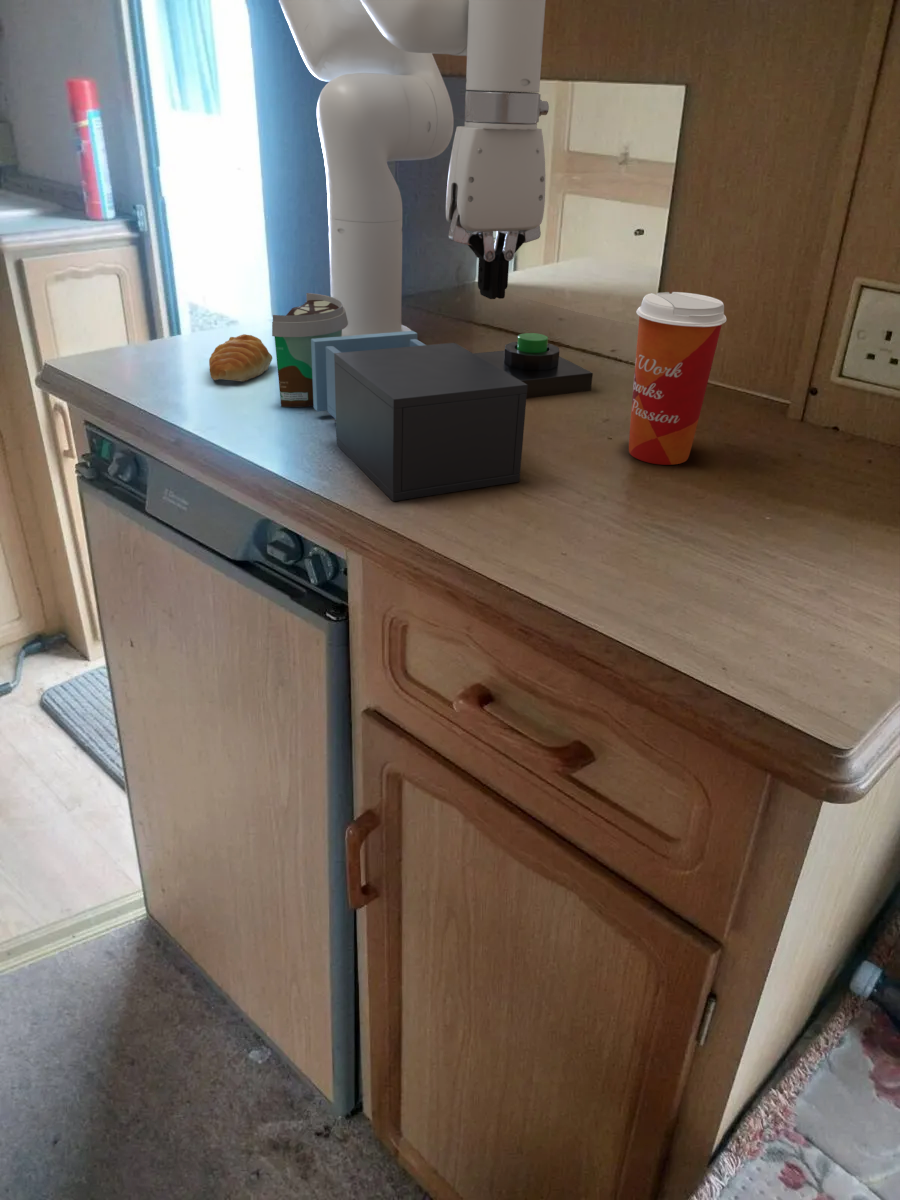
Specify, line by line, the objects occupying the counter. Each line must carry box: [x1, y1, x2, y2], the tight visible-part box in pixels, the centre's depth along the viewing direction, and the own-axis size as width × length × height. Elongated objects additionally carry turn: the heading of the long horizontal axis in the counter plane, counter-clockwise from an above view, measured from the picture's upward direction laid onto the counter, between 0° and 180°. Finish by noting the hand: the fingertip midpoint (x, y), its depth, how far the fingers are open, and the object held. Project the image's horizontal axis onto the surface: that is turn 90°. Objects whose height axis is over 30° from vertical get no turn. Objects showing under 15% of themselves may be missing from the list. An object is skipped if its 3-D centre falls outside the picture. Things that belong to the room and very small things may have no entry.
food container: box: [271, 292, 348, 408], centre depth 101 cm, size 12×6×10 cm, turn 170°
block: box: [472, 341, 594, 399], centre depth 110 cm, size 12×10×4 cm
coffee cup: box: [628, 291, 727, 466], centre depth 87 cm, size 8×8×15 cm
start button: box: [516, 332, 549, 353], centre depth 109 cm, size 4×4×2 cm
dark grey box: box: [334, 342, 528, 502], centre depth 85 cm, size 15×13×9 cm
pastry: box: [208, 333, 273, 383], centre depth 108 cm, size 9×7×4 cm
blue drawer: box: [311, 330, 426, 420], centre depth 94 cm, size 19×11×7 cm, turn 26°
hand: (492, 296), depth 103 cm, fingers closed
